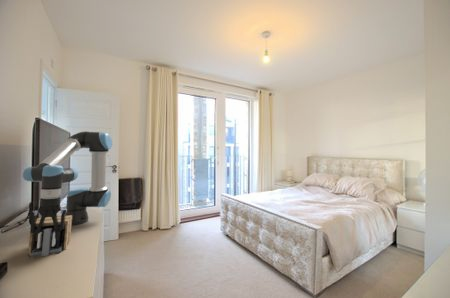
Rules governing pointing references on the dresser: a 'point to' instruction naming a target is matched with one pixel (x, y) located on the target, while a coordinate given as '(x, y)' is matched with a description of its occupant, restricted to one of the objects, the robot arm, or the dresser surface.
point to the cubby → (48, 222)
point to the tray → (47, 246)
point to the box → (58, 240)
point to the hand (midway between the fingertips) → (46, 246)
